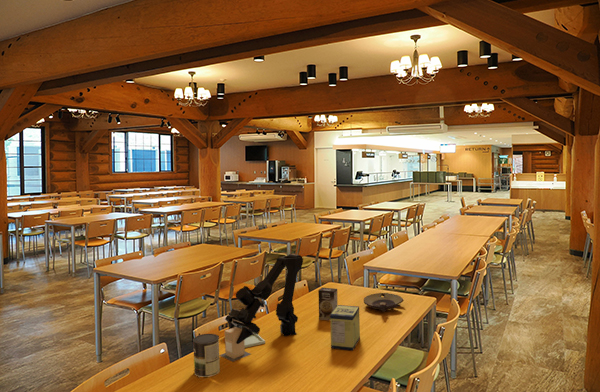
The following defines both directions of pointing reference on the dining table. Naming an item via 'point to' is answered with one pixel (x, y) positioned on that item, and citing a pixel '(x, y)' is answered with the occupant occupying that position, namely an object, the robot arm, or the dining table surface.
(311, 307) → the dining table surface
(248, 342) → the tray
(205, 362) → the coffee can
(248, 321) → the robot arm
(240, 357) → the mat
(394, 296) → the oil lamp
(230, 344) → the carton
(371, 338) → the dining table surface
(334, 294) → the coffee box
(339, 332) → the protein box
